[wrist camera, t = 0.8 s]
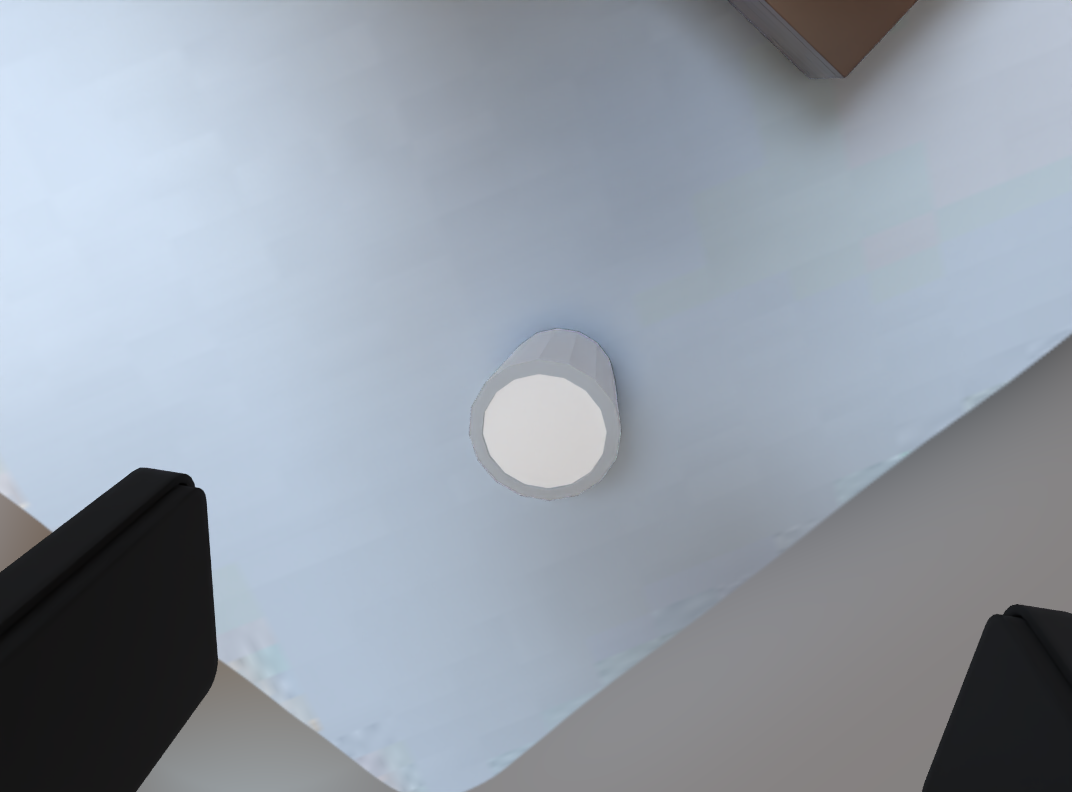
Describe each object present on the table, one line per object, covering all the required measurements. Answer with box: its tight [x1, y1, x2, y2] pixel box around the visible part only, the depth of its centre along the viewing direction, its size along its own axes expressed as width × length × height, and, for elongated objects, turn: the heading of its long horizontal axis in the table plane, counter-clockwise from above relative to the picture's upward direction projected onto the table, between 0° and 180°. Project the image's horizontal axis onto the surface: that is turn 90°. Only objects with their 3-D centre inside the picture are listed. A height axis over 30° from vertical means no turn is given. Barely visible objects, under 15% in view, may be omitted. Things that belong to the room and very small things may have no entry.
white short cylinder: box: [469, 328, 621, 501], centre depth 38 cm, size 7×7×7 cm
